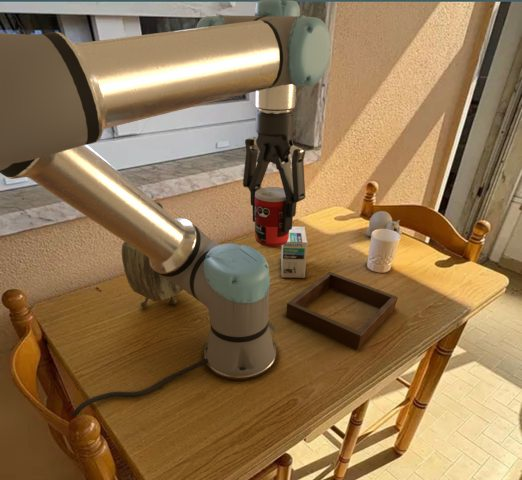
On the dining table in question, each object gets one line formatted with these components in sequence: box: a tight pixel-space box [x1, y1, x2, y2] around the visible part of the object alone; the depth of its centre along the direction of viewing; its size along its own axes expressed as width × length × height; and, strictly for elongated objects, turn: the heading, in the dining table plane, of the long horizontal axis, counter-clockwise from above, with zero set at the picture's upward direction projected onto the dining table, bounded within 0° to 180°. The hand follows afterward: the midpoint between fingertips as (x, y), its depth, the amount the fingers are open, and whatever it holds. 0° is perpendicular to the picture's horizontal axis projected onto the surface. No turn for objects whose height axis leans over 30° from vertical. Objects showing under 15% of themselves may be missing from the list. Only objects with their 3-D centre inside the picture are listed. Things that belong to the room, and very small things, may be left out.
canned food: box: [254, 186, 289, 248], centre depth 86 cm, size 8×8×11 cm
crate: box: [285, 271, 399, 351], centre depth 93 cm, size 19×19×4 cm
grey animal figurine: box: [365, 210, 403, 237], centre depth 123 cm, size 7×12×8 cm, turn 36°
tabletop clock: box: [121, 201, 184, 309], centre depth 89 cm, size 14×9×25 cm, turn 145°
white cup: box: [366, 229, 402, 274], centre depth 108 cm, size 8×8×10 cm
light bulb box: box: [280, 225, 309, 279], centre depth 107 cm, size 11×7×11 cm, turn 179°
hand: (272, 224), depth 88 cm, fingers closed on canned food, 8 cm apart
